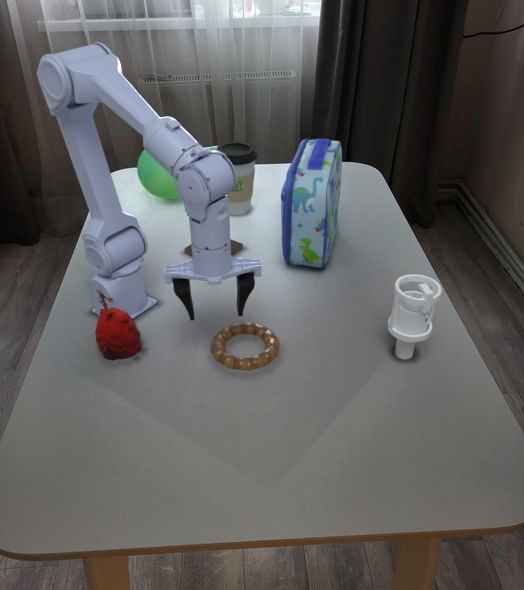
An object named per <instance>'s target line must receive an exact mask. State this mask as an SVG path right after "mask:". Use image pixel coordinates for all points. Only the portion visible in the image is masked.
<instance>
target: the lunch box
mask: <svg viewBox="0 0 524 590" xmlns="http://www.w3.org/2000/svg"><path fill="white" fill-rule="evenodd" d="M342 168H343V150H342V143H341V141H339V140H331V139H330V138H316V139H309V138H306V139H305V138H304V139H303V140H301V142H300V144H299V145H298V148H297V151H296V153H295V155H294V157H293V159H292V162H291V163H290V165H289V167H288V169H287V171H286V175H285V181H284V183H283V185H282V189H281V193H280V213H281V214H280V216H281V217H280V218H281V249H282V257H283V260H284V263H285V264H286V266H290V265H298V266H299V265H300V266H301V265H302V266H307V267H313V268H318V269H322V268H325V267H326V266H327V264H328V261H329V260H330V256H331V253H332V248H333V245H334V241H335V237H336V234H337V229H338V217H339V215H338V213H339V204H340V198H341V186H342V173H343V172H342V171H343V169H342Z"/></svg>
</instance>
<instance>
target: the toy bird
mask: <svg viewBox="0 0 524 590" xmlns="http://www.w3.org/2000/svg"><path fill="white" fill-rule="evenodd" d="M218 146H219V145H215V146H209V147H207V148H209V149H210V150H212V151H216V150H217V147H218ZM136 171H137V176H138V179H139V182H140V183H141V185H142V187H143V188H144V189H145V190H146V191H147V192H148V193H150V194H151V195H152V196H154V197H157V198H160V199H164V200H178V199H179V200H180V199H181V197H180V195H179V193H178V191H177V188H176V184H175V182H177V181H176V180H175V179H174V178H173V177H172V176H171V175H170V174H169V173H168V172H167V171H166V170H165V169H164V168H163V167H162V166H161V165H160V164H159V163H158V162H157V161H156V160H155V159H154V158H153V157H152V156H151V155H150V154H149V153H148V152H146V151H145V149H144V150H143V151H142V152H141V154H140V155H139V158H138V161H137V167H136Z"/></svg>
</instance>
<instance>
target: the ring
mask: <svg viewBox="0 0 524 590" xmlns="http://www.w3.org/2000/svg"><path fill="white" fill-rule="evenodd" d="M240 335H241V336H242V335H253V336H255V337H257V338H259V339H261V340H262V342H263V344H264V350H262V351H261V352H260V353H259V354H257V355H254V356H251V357H240V356H235V355H233V354H231V353H229V352H228V351H227V349H226V346H227V342H228V341H230V340H231V339H232V338H234V337H236V336H240ZM280 345H281V343H280V340H279V339H278V337H277V336H276V334H275V333H274V331H273V330H272V329H271V328H268V327H266V326H264V325H261V324H260V323H255V322H237V323H234V324H230V325H227V326H225V327H223V328H222V329H221V330H219V331H218V332H216V334H214V336H213V339H212V341H211V345H210V348H209V349H210V353H211V354H212V356H213V358H214V360H215V361H216V363H218V364H221V365H222V366H224V367H226V368H227V369H229V370H235V371H247V372H248V371H254V370H257V369H260V368H261V369H262V368H263V367H267V366H268V365H270V364H271V363H272V362H273V361H274V360H275V359H276V358H277V357H278V356H279V352H280Z"/></svg>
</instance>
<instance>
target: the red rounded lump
mask: <svg viewBox="0 0 524 590" xmlns="http://www.w3.org/2000/svg"><path fill="white" fill-rule="evenodd" d="M97 292H98V293H100V294H99V295H100V297H101V299H102V301H103V309H102V310H101V311H100V316H99V317H98V320H97V322H96V327H95V330H94V335H95V341H96V344H97V346H98V348H99V351H100V353H101V354H102V356H103V358H104V359H106V360H109V361H116V360H117V361H118V360H125V359H129V358H132V357H134V356H136V355H137V353H138V352H140V351H141V350H142V342H141V332H140V331H139V329H138V326H137V324H136V322H135V320H134V319H133V318H131V317H130V316H129V314H128V313H127V312H125V311H123V310H120V309H118V308H109V309H108V308H107V303H106V302H105V299H104V298H106V299H108V301H109V302H110V303H113V299H112V298H108V297H106V296H105V295H104V294H103V292H101V287H100V291H98V290H97ZM100 297H99V299H100ZM99 299H98V300H99Z"/></svg>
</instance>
